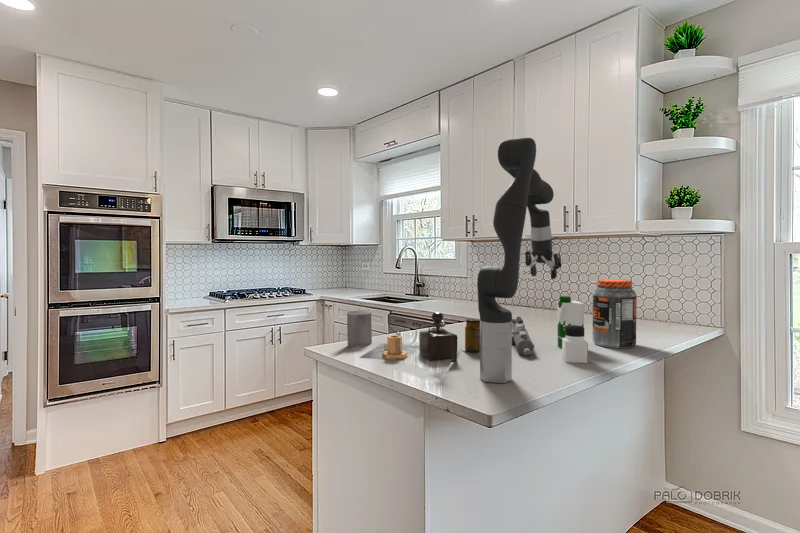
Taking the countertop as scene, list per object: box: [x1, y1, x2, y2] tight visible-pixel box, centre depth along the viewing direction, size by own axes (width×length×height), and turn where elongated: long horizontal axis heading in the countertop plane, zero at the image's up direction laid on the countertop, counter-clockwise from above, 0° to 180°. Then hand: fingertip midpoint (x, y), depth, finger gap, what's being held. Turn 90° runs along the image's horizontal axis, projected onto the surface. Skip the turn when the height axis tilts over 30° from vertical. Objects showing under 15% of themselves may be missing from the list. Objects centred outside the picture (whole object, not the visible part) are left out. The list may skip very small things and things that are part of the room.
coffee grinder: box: [418, 311, 458, 364], centre depth 148 cm, size 16×11×18 cm
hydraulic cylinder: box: [512, 316, 535, 356], centre depth 170 cm, size 7×37×10 cm, turn 173°
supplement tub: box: [592, 278, 638, 349], centre depth 173 cm, size 16×16×26 cm
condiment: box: [460, 318, 480, 355], centre depth 163 cm, size 7×8×12 cm
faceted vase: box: [382, 334, 407, 361], centre depth 151 cm, size 8×8×7 cm
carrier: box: [359, 331, 419, 362], centre depth 159 cm, size 24×16×7 cm, turn 163°
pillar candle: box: [346, 308, 373, 349], centre depth 174 cm, size 10×10×15 cm
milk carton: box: [556, 295, 585, 350], centre depth 167 cm, size 9×9×20 cm
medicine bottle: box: [561, 325, 589, 364], centre depth 149 cm, size 7×7×12 cm
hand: (543, 277), depth 172 cm, fingers open, 8 cm apart
